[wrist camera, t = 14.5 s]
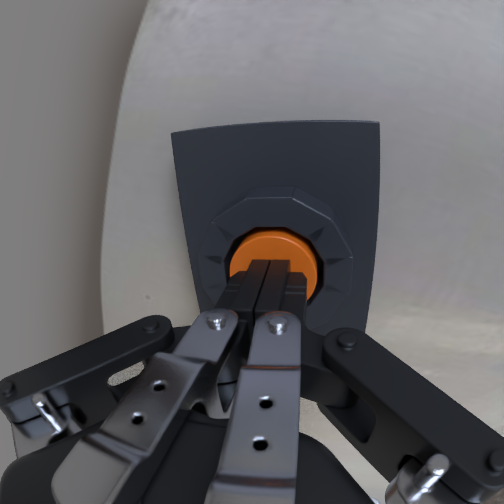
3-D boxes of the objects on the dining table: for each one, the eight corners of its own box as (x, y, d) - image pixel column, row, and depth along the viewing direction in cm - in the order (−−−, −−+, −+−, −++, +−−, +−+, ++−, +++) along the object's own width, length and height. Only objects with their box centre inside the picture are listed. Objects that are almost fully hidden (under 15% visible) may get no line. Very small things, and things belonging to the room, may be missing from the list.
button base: (189, 129, 15) (150, 136, 11) (370, 120, 13) (389, 123, 9) (217, 322, 20) (197, 365, 16) (358, 328, 18) (363, 376, 14)
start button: (235, 221, 14) (224, 236, 12) (317, 220, 13) (317, 236, 11) (242, 290, 15) (234, 311, 14) (316, 292, 14) (316, 314, 13)
